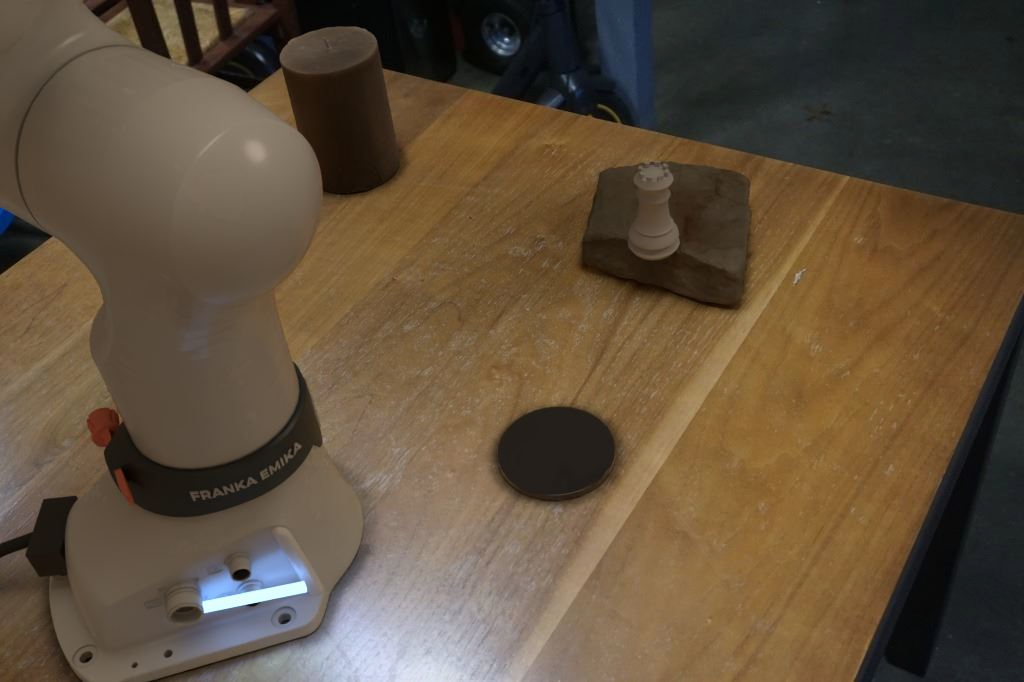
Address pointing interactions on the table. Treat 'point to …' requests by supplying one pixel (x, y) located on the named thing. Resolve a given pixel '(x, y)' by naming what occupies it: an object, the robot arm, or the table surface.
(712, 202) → the flat brown rock
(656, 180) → the rook chess piece
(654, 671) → the table surface
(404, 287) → the table surface
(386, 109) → the pillar candle
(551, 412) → the slate coaster
